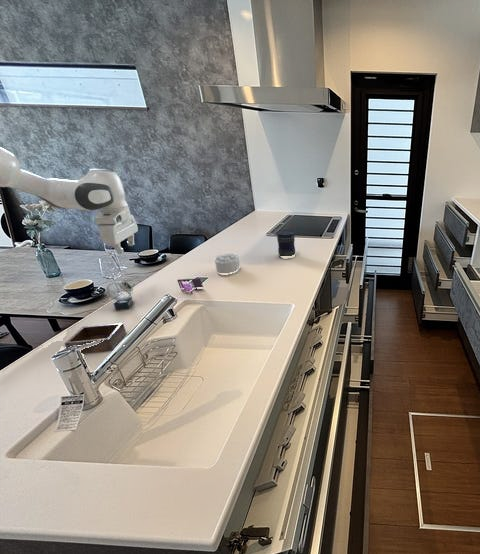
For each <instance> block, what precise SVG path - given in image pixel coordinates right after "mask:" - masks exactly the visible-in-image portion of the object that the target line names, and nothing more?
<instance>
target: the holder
mask: <svg viewBox="0 0 480 554" xmlns="http://www.w3.org/2000/svg"><path fill="white" fill-rule="evenodd" d="M126 335H127V331H126V328H125V325H124V323H123V322H119V323H109V324H97V325H86V326H81V328H79V329H78V330H77V331H76V332H75V333H74V334H73V335H72V336H71V337H70V338H69V339H68V340H67V341H65V343H64V346H65V348H66V349H67V348H68V347H70V346H73V345H83V344H86V343H91V342H93V341H97V340H100V339H104V341H103V342H101V343H99V344H97V345H94V346H91V347H89V348H85V349H83V350H81V353H82V354H90V353H92V354H93V353H101V352H110V351H114V350H115V348H116V347H117V346H118V345H119V344H120V342H121V341H122V340H123V339H124V338H125V336H126ZM113 349H114V350H113Z"/></svg>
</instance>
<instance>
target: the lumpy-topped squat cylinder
mask: <svg viewBox="0 0 480 554" xmlns="http://www.w3.org/2000/svg"><path fill="white" fill-rule="evenodd" d="M214 263H215V269H216V274H217V275H218V276H219V277H222V276H224V278H226V277H231V276H230V275H232V274H233V275H232V276H235V275H237V274H239V272H240V270H241V265H240V258H239V255H238V254H234V253H223V254H221V255H220V254H219V255H217V256H216V257H215V259H214ZM239 266H240V268H239ZM238 268H239V270H238V271H237V272H235V273H232V274H228V275H221V274H218V273H217V272H219V273H230V272H234V271H236V270H237V269H238ZM225 276H226V277H225Z"/></svg>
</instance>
